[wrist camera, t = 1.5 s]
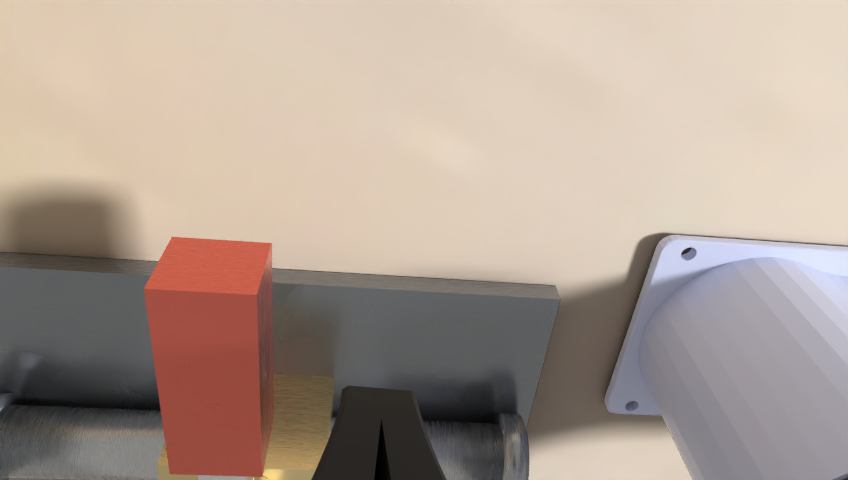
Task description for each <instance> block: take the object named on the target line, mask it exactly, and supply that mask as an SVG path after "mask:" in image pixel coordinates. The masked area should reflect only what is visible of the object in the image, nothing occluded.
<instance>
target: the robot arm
mask: <svg viewBox="0 0 848 480" xmlns="http://www.w3.org/2000/svg"><path fill="white" fill-rule="evenodd" d="M689 247H692V248H691V250H690V251H689V252H688V253H686V254H681V253H682V251H683V250H684V249H686V248H689ZM630 401H633V402H631V403H628V402H630ZM604 403H605V405H606V408H607V410H608V411H609V412H611V413H615V414H635V415H659V416H662V417H663V420H664V422H665V424H666V426H667V428H668V430H669V432H670V434H671V436H672V438H673V440H674V442H675V444H676V446H677V448H678V450H679V452H680V455H681V457H682V459H683V461H684V463H685V465H686V467H687V469H688V471H689V473H690V475H691V477H692V479H693V480H848V247H843V246H829V245H814V244H800V243H785V242H771V241H757V240H742V239H728V238H713V237H699V236H685V235H669V236H667V237H664V238H663V239H662V240H661V241H659V243H658V245H657V246H656V249H655V252H654V255H653V258H652V261H651V264H650V267H649V269H648V272H647V275H646V278H645V281H644V284H643V287H642V290H641V293H640V296H639V299H638V302H637V305H636V308H635V310H634V313H633V316H632V319H631V322H630V325H629V328H628V331H627V334H626V337H625V340H624V343H623V346H622V349H621V351H620V354H619V357H618V360H617V363H616V366H615V369H614V372H613V375H612V378H611V381H610V384H609V387H608V390H607V392H606V395H605V398H604ZM311 480H446V477H445V475H444V473H443V471H442V469H441V466H440V464H439V462H438V459H437V457H436V455H435V452H434V450H433V447H432V445H431V442H430V439H429V437H428V434H427V431H426V428H425V426H424V423H423V420H422V417H421V414H420V410H419V407H418V403H417V399H416V396H415V394H414V393H413V392H412V391H409V390H397V389H385V388H373V387H360V386H347V387H345V388H343V389H342V392H341V400H340V405H339V409H338V413H337V416H336V420H335V423H334V426H333V429H332V431H331V434H330V437H329V440H328V442H327V445H326V447H325V449H324V452H323V454H322V456H321V459H320V461H319V463H318V466H317V468H316V470H315V473H314V475H313V477H312V479H311Z"/></svg>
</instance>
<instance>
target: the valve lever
mask: <svg viewBox="0 0 848 480" xmlns="http://www.w3.org/2000/svg"><path fill="white" fill-rule="evenodd" d="M144 294H145V301H146V308H147V315H148V323H149V330H150V337H151V344H152V351H153V358H154V366H155V373H156V380H157V387H158V394H159V401H160V408H161V416H162V423H163V430H164V437H165V444H166V451H167V459H168V466H169V473H170V474H176V475H198V480H254V477H262V476H263V471H264V466H265V461H266V456H267V451H268V446H269V441H270V436H271V431H272V425H273V420H274V359H273V294H272V243H259V242H243V241H228V240H212V239H196V238H181V237H172V238H171V240H170V242H169V244H168V245H167V247H166V249H165V251H164V253H163V255H162V256H161V258H160V260H159V262H158V264H157V266H156V267H155V269H154V271H153V273H152V275H151V276H150V278H149V280H148V282H147V284H146V286H145V287H144Z"/></svg>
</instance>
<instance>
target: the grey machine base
mask: <svg viewBox="0 0 848 480" xmlns="http://www.w3.org/2000/svg"><path fill="white" fill-rule="evenodd" d="M157 264H158V262H153V261H136V260H119V259H103V258H86V257H70V256H53V255H36V254H20V253H3V252H0V480H198V475H176V474H170V473H169V466H168V459H167V451H166V444H165V437H164V430H163V423H162V416H161V408H160V401H159V394H158V387H157V380H156V373H155V366H154V358H153V351H152V344H151V337H150V330H149V323H148V315H147V308H146V301H145V294H144V287H145V286H146V284H147V282H148V280H149V278H150V276H151V275H152V273H153V271H154V269H155V267H156V266H157ZM272 294H273V359H274V420H273V425H272V431H271V436H270V441H269V446H268V451H267V456H266V461H265V466H264V471H263V476H262V477H254V480H311V479H312V477H313V475H314V473H315V470H316V468H317V466H318V463H319V461H320V459H321V456H322V454H323V452H324V449H325V447H326V445H327V442H328V440H329V437H330V434H331V431H332V429H333V426H334V423H335V420H336V416H337V413H338V409H339V405H340V400H341V392H342V389H343V388H345V387H347V386H360V387H373V388H385V389H397V390H409V391H412V392H413V393H414V394H415V396H416V399H417V403H418V407H419V410H420V414H421V417H422V420H423V423H424V426H425V428H426V431H427V434H428V437H429V439H430V442H431V445H432V447H433V450H434V452H435V455H436V457H437V459H438V462H439V464H440V466H441V469H442V471H443V473H444V475H445V477H446V480H528V477H529V445H528V437H527V431H526V428H527V424H528V420H529V416H530V412H531V409H532V405H533V401H534V397H535V394H536V390H537V386H538V382H539V379H540V375H541V371H542V367H543V364H544V360H545V356H546V352H547V348H548V345H549V341H550V337H551V333H552V330H553V326H554V322H555V318H556V315H557V311H558V307H559V303H560V297H559V294H558V291H557V289H556V286H552V285H535V284H518V283H502V282H485V281H469V280H452V279H435V278H419V277H402V276H385V275H369V274H352V273H336V272H319V271H302V270H286V269H272Z"/></svg>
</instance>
